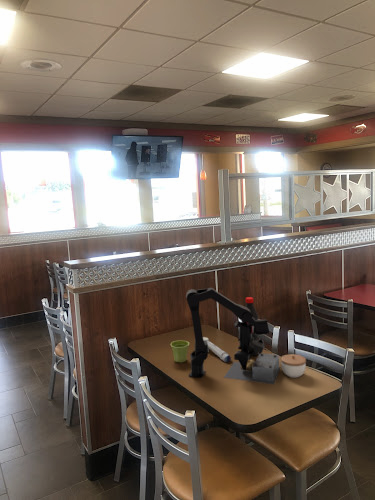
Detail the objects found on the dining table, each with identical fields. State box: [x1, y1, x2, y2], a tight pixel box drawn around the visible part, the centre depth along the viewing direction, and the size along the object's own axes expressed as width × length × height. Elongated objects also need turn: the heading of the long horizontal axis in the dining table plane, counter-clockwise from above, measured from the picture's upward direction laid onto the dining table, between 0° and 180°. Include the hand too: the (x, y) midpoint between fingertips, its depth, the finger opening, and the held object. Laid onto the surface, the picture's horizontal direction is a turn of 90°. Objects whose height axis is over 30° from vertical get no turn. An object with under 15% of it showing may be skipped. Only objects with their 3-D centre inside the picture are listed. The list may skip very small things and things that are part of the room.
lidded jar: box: [280, 353, 307, 379], centre depth 175 cm, size 11×11×9 cm
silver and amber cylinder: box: [241, 359, 256, 371], centre depth 179 cm, size 5×10×5 cm, turn 68°
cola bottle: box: [245, 296, 259, 358], centre depth 199 cm, size 8×8×30 cm
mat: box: [223, 361, 282, 385], centre depth 180 cm, size 18×22×1 cm
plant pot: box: [170, 340, 190, 363], centre depth 197 cm, size 9×9×9 cm
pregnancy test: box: [203, 336, 232, 363], centre depth 203 cm, size 5×7×25 cm
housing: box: [252, 352, 280, 383], centre depth 177 cm, size 16×9×7 cm, turn 158°
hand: (246, 367), depth 181 cm, fingers closed on silver and amber cylinder, 5 cm apart
